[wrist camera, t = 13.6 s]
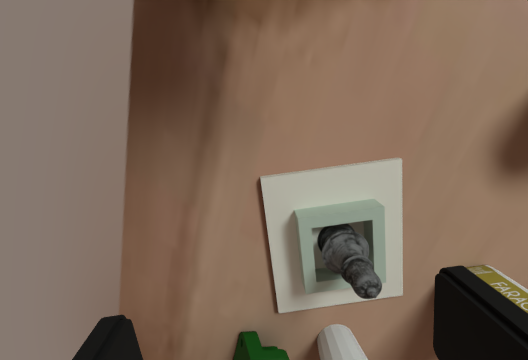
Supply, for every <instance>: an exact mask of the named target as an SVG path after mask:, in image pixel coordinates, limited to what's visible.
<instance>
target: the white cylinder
mask: <svg viewBox="0 0 528 360" xmlns="http://www.w3.org/2000/svg"><path fill="white" fill-rule="evenodd" d="M317 344H318V350H319V356H320V360H368V359H367V357H366V355H365V354H364V352H363V350H362V349H361V347H360V345H359V344H358V342H357V340H356V339H355V337H354V335H353V334H352V332H351V330H350V329H349V328H348V327H346V326H344V325H340V324H335V325H330V326H328V327H326V328H324V329H323V330H322V331H321V332H320V333H319V335H318V338H317Z"/></svg>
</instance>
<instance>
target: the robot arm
mask: <svg viewBox="0 0 528 360" xmlns="http://www.w3.org/2000/svg"><path fill="white" fill-rule="evenodd" d="M433 347H434V351H435V353H436V355H437V357H438V359H439V360H528V313H527V312H525V311H524V310H523V309H521V308H520V307H519V306H517V305H516V304H515V303H513V302H512V301H511V300H509V299H508V298H506V297H505V296H504V295H502V294H501V293H500V292H498V291H497V290H496V289H494V288H493V287H492V286H490V285H489V284H487V283H486V282H485V281H483V280H482V279H481V278H479V277H478V276H477V275H475V274H474V273H473V272H471V271H470V270H468V269H467V268H466V267H464V266H454V267H447V268H442V269H441V270H440V271H439V274H437V275H436V276H435V299H434V336H433ZM72 360H143V358H142V355H141V351H140V348H139V344H138V341H137V337H136V334H135V331H134V327H133V324H132V321H131V320H130V319H126V317H125V316H124V315H117V316H110V317H104V318H102V319H101V320H100V321H99V322H98V323H97V325H96V326H95V328H94V329H93V331H92V332H91V333H90V335H89V336H88V338H87V339H86V341H85V342H84V344H83V345H82V346H81V348H80V349H79V351H78V352H77V353H76V355H75V356H74V358H73V359H72Z"/></svg>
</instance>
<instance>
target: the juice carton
mask: <svg viewBox="0 0 528 360" xmlns="http://www.w3.org/2000/svg"><path fill="white" fill-rule="evenodd" d="M466 268H467V269H468V270H470V271H471V272H473V273H474V274H475V275H477V276H478V277H479V278H481V279H482V280H483V281H485V282H486V283H487V284H489V285H490V286H492V287H493V288H494V289H496V290H497V291H498V292H500V293H501V294H502V295H504V296H505V297H506V298H508V299H509V300H511V301H512V302H513V303H515V304H516V305H517V306H519V307H520V308H521V309H523V310H524V311H525V312H527V313H528V290H527V289H526V288H524V287H523V286H521V285H520V284H518V283H517V282H515V281H514V280H512V279H511V278H509V277H507V276H506V275H504V274H503V273H501V272H500V271H498V270H496V269H494V268H493V267H491V266H489V265H481V266H473V267H466Z"/></svg>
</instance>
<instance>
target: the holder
mask: <svg viewBox="0 0 528 360" xmlns="http://www.w3.org/2000/svg"><path fill="white" fill-rule="evenodd" d="M260 179H261V186H262V194H263V201H264V209H265V216H266V223H267V231H268V238H269V246H270V253H271V260H272V268H273V275H274V283H275V290H276V297H277V305H278V312H279V313H285V312H292V311H298V310H305V309H312V308H319V307H326V306H332V305H339V304H346V303H353V302H360V301H366V300H373V299H380V298H387V297H394V296H400V295H403V253H402V159H401V158H392V159H384V160H377V161H370V162H362V163H355V164H348V165H341V166H333V167H326V168H319V169H311V170H304V171H297V172H289V173H282V174H275V175H268V176H260ZM346 223H347V224H349V225H350V226H351V227H352V228H353V229H354V231H355V232H357V233H359V234H361V235H362V236H363V237H364V238H365V239H366V240H367V243H368V245H369V255H368V259H369V260H370V261H371V262H372V264H373V269H374V272H375V273H376V274H377V276H378V277H379V278H380V280H381V283H382V290H381V292H380V294H379V295H378V296H377V297H376V298H373V299H363V298H361V297H359V296H358V295H357V294H356V293H355V292H354V290H353V288H352V287H351V285H350V284H349V283H347V282H346V281H345V280H344V279H343V278H342V276H341V274H337V273H334V272H332V271H330V270H329V269H328V268H327V267H326V266H325V265H324V262H323V260H322V252H321V251H320V249H319V247H318V243H317V240H318V235H319V233H320V231H321V230H322V229H323V228H324V227H325V226H331V225H339V224H346Z"/></svg>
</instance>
